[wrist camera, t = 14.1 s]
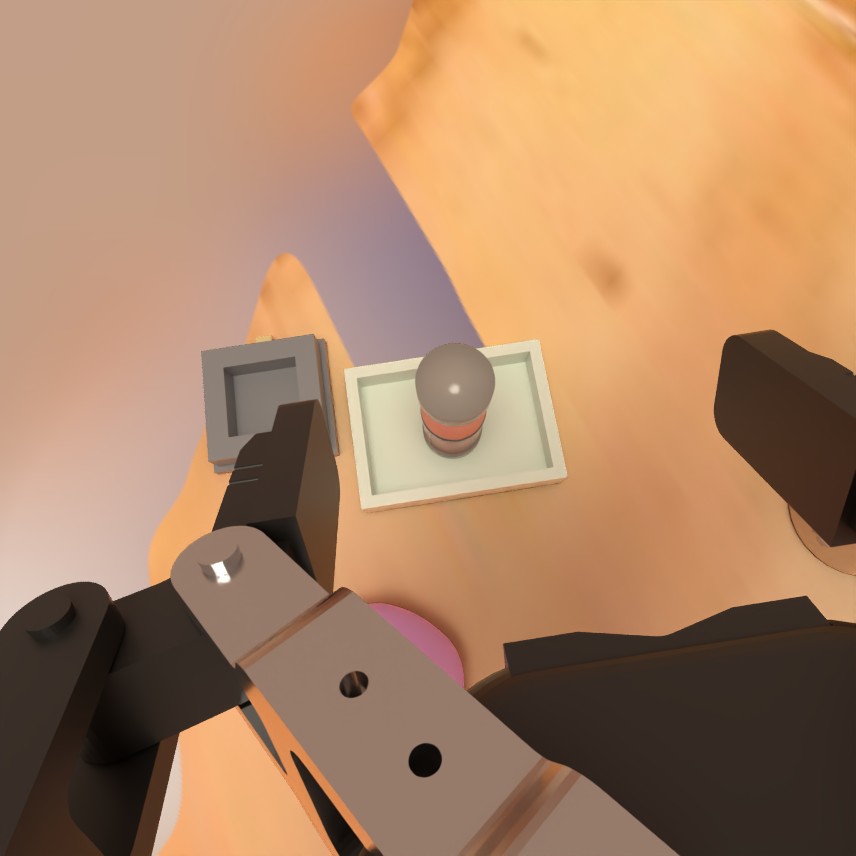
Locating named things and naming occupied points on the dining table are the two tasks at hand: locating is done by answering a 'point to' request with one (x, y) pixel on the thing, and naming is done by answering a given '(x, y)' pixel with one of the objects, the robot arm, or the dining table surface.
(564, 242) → the dining table surface
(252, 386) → the socket block
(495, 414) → the parts tray
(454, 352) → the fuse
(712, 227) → the dining table surface
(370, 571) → the dining table surface
